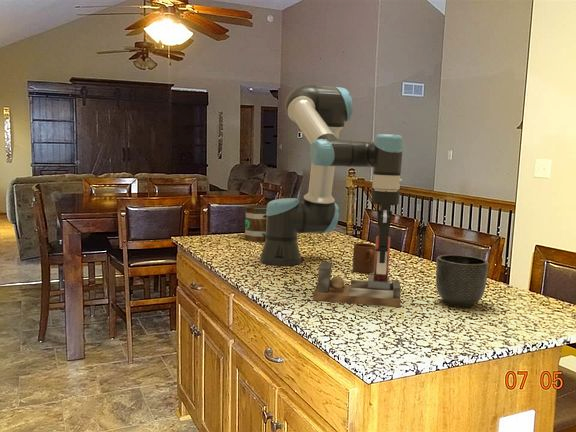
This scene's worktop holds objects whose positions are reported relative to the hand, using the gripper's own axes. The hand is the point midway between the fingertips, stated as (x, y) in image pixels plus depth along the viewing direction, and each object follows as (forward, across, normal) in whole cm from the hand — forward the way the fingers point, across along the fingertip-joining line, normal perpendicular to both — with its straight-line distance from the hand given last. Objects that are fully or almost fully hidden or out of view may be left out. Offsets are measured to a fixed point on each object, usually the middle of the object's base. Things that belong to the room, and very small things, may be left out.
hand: (380, 271), depth 153 cm
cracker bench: (+8, 0, +6) cm, 10 cm away
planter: (+8, +2, -22) cm, 24 cm away
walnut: (+6, 0, +12) cm, 14 cm away
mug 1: (+8, +83, +51) cm, 98 cm away
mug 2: (+8, +33, +4) cm, 34 cm away
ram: (+6, 0, 0) cm, 6 cm away
